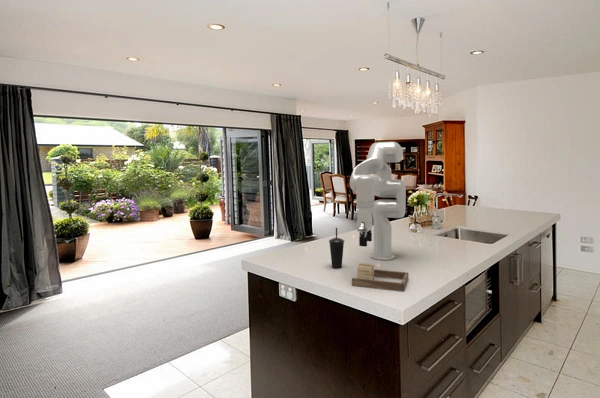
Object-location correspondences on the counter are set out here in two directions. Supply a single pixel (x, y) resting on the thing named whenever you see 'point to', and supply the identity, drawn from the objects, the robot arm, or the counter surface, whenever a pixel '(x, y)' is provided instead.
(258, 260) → the counter surface
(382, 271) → the bay
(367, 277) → the light wooden block
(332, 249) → the drinking cup
